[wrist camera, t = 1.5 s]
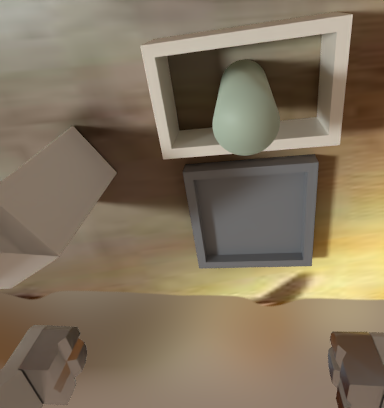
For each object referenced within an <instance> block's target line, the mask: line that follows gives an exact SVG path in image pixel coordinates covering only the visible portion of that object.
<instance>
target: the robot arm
mask: <svg viewBox="0 0 384 408" xmlns="http://www.w3.org/2000/svg"><path fill="white" fill-rule="evenodd" d="M79 335H80V332H79V329H78V327H67V326H48V325H34V326H32V327H31V328H30V329H29V330H28V331H27V333H26V334H25V336H24V337H23V339H22V340H21V342H20V343H19V345H18V346H17V348H16V349H15V351H14V352H13V354H12V356H11V357H10V358H9V360H8V361H7V363H6V364H5V366H4V368H3V369H0V408H41V407H42V406H43V404H56V405H67V404H68V402H69V400H70V398H71V395H72V393H73V391H74V388H75V386H76V380H75V377H76V376H77V375H78V374H79V373H80V372H82V370H83V368H84V365H85V363H86V357H87V348H86V345H85V342H83V341H82V340H81V339H79ZM330 341H331V345H332V347H331V348H330V349H329V353H328V363H329V364H328V365H329V372H330V376H331V380H332V383H333V384H334V385H335V386H336V387H337V394H336V401H337V405H338V408H384V333H376V332H372V333H370V332H369V333H368V332H332V333H331V336H330Z"/></svg>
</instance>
